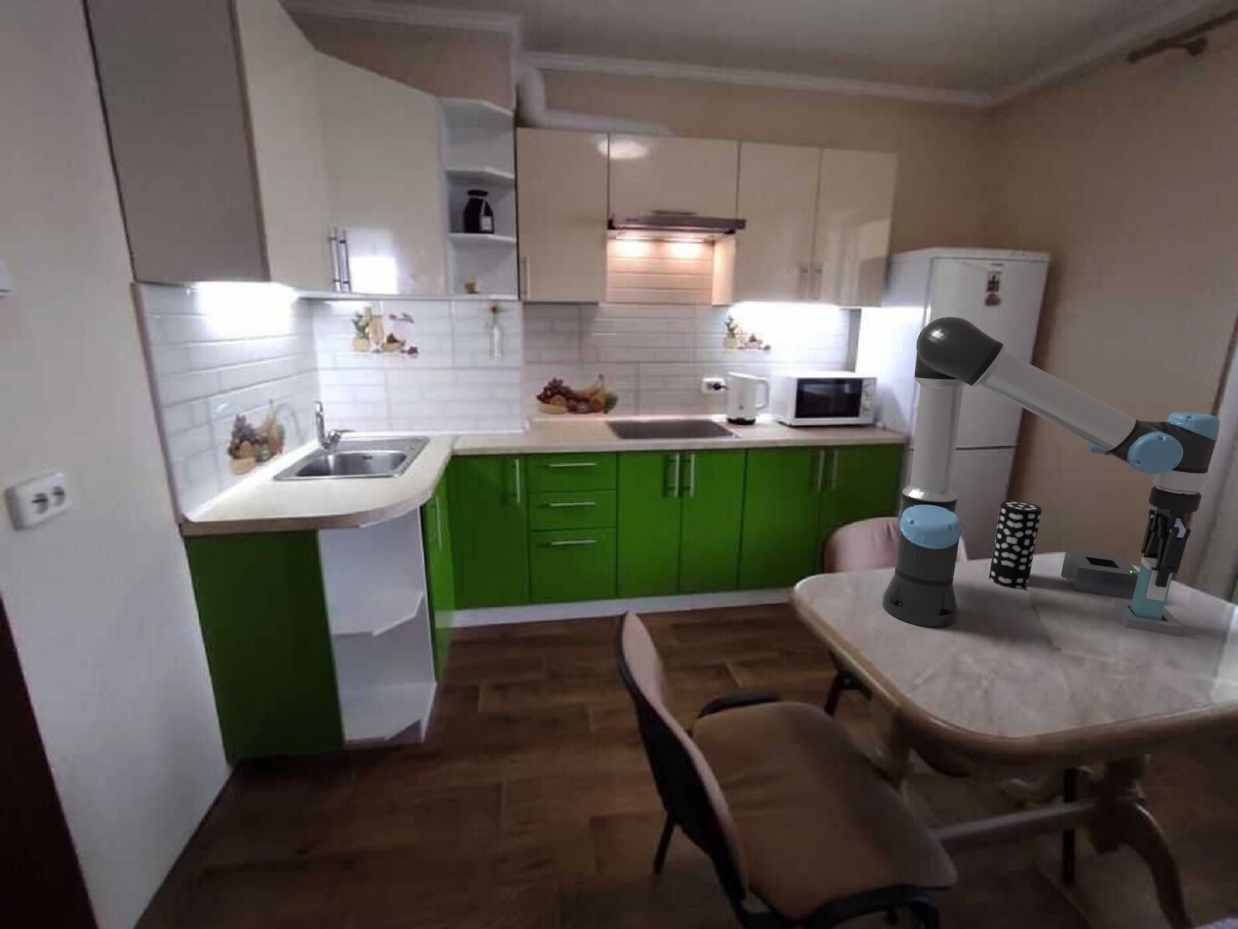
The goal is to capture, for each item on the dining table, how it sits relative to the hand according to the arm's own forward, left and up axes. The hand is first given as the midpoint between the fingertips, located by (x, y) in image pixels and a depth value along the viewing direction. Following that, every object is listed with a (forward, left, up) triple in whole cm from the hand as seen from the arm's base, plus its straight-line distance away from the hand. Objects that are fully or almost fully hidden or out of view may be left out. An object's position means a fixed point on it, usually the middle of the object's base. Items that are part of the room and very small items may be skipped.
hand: (1150, 594), depth 125 cm
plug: (0, 0, -5) cm, 5 cm away
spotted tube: (-23, +14, -8) cm, 28 cm away
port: (-4, +18, -7) cm, 20 cm away
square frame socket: (0, 0, -7) cm, 7 cm away
